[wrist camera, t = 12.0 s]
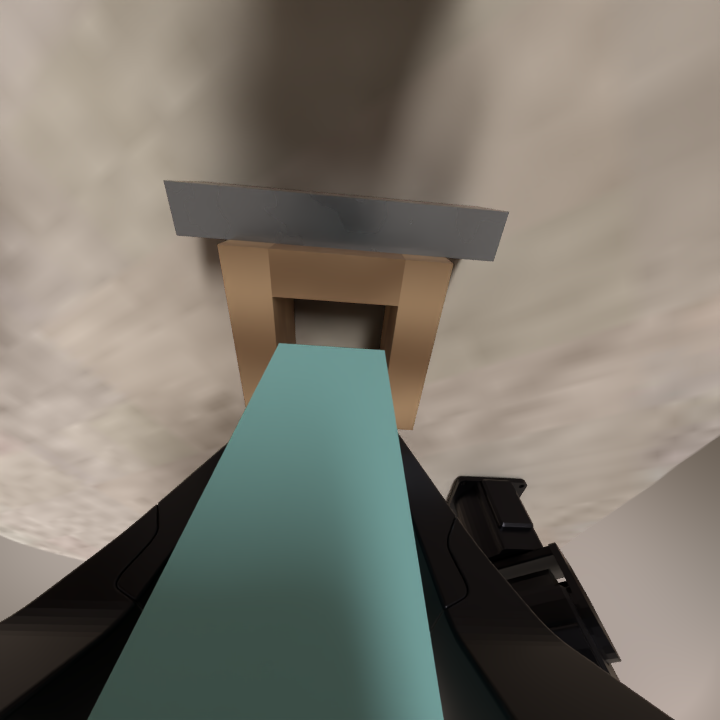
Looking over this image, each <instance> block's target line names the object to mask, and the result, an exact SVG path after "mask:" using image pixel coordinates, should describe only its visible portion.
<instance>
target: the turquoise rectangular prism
mask: <svg viewBox="0 0 720 720" xmlns="http://www.w3.org/2000/svg"><path fill="white" fill-rule="evenodd" d="M87 720H444V718H443V712H442V706H441V700H440V693H439V687H438V681H437V675H436V668H435V662H434V656H433V650H432V644H431V637H430V631H429V625H428V619H427V612H426V606H425V600H424V594H423V587H422V581H421V575H420V569H419V562H418V556H417V550H416V544H415V537H414V531H413V525H412V519H411V512H410V506H409V500H408V494H407V487H406V481H405V475H404V469H403V462H402V456H401V450H400V444H399V438H398V431H397V425H396V419H395V413H394V406H393V400H392V394H391V388H390V381H389V375H388V369H387V363H386V356H385V350H372V349H358V348H343V347H328V346H313V345H299V344H284V343H279V344H278V346H277V348H276V350H275V352H274V354H273V356H272V358H271V360H270V362H269V364H268V366H267V368H266V370H265V372H264V374H263V376H262V378H261V380H260V382H259V384H258V385H257V387H256V389H255V391H254V393H253V395H252V397H251V399H250V401H249V403H248V405H247V407H246V409H245V411H244V413H243V415H242V417H241V419H240V421H239V423H238V425H237V427H236V429H235V431H234V433H233V435H232V437H231V439H230V440H229V442H228V444H227V446H226V448H225V450H224V452H223V454H222V456H221V458H220V460H219V462H218V464H217V466H216V468H215V470H214V472H213V474H212V476H211V478H210V480H209V482H208V484H207V486H206V488H205V490H204V492H203V494H202V495H201V497H200V499H199V501H198V503H197V505H196V507H195V509H194V511H193V513H192V515H191V517H190V519H189V521H188V523H187V525H186V527H185V529H184V531H183V533H182V535H181V537H180V539H179V541H178V543H177V545H176V547H175V549H174V550H173V552H172V554H171V556H170V558H169V560H168V562H167V564H166V566H165V568H164V570H163V572H162V574H161V576H160V578H159V580H158V582H157V584H156V586H155V588H154V590H153V592H152V594H151V596H150V598H149V600H148V602H147V604H146V605H145V607H144V609H143V611H142V613H141V615H140V617H139V619H138V621H137V623H136V625H135V627H134V629H133V631H132V633H131V635H130V637H129V639H128V641H127V643H126V645H125V647H124V649H123V651H122V653H121V655H120V657H119V659H118V660H117V662H116V664H115V666H114V668H113V670H112V672H111V674H110V676H109V678H108V680H107V682H106V684H105V686H104V688H103V690H102V692H101V694H100V696H99V698H98V700H97V702H96V704H95V706H94V708H93V710H92V712H91V714H90V715H89V717H88V719H87Z"/></svg>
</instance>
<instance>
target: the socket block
mask: <svg viewBox="0 0 720 720" xmlns="http://www.w3.org/2000/svg"><path fill="white" fill-rule="evenodd" d="M217 247H218V252H219V258H220V264H221V269H222V275H223V281H224V286H225V292H226V298H227V304H228V309H229V315H230V321H231V326H232V332H233V338H234V343H235V349H236V355H237V360H238V366H239V372H240V377H241V383H242V389H243V394H244V400H245V406H246V407H247V405H248V403H249V401H250V399H251V397H252V395H253V393H254V391H255V389H256V387H257V385H258V384H259V382H260V380H261V378H262V376H263V374H264V372H265V370H266V368H267V366H268V364H269V362H270V360H271V358H272V356H273V354H274V352H275V350H276V348H277V346H278V344H279V343H284V344H296V338H295V316H294V298H296V299H310V300H323V301H337V302H350V303H364V304H378V305H385V312H384V319H383V327H382V334H381V342H380V349H379V350H385V356H386V363H387V369H388V375H389V381H390V388H391V394H392V400H393V406H394V413H395V419H396V425H397V429H404V430H413V426H414V422H415V418H416V414H417V410H418V406H419V402H420V398H421V393H422V389H423V385H424V381H425V377H426V373H427V369H428V365H429V361H430V357H431V353H432V349H433V345H434V341H435V337H436V333H437V329H438V325H439V321H440V317H441V312H442V308H443V304H444V300H445V296H446V292H447V288H448V284H449V280H450V276H451V272H452V268H453V263H452V262H451V261H449V260H448V259H447V258H446V257H433V256H421V255H409V254H397V253H385V252H373V251H361V250H349V249H336V248H324V247H312V246H300V245H288V244H276V243H264V242H252V241H239V240H227V241H224V242H222V243H220V244H217Z"/></svg>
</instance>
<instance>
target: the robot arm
mask: <svg viewBox="0 0 720 720" xmlns="http://www.w3.org/2000/svg"><path fill="white" fill-rule="evenodd" d="M398 438H399V444H400V450H401V456H402V462H403V469H404V475H405V481H406V487H407V494H408V500H409V506H410V512H411V519H412V525H413V531H414V537H415V544H416V550H417V556H418V562H419V569H420V575H421V581H422V587H423V594H424V600H425V606H426V612H427V619H428V625H429V631H430V637H431V644H432V650H433V656H434V662H435V668H436V675H437V681H438V687H439V693H440V700H441V706H442V712H443V718H444V720H674V719H673V718H671V717H669V716H668V715H667V714H665V713H664V712H663V711H661V710H660V709H658V708H657V707H655V706H654V705H652V704H651V703H650V702H648V701H647V700H645V699H644V698H643V697H641V696H640V695H638V694H637V693H635V692H634V691H632V690H631V689H630V688H628V687H627V686H626V685H624V684H623V683H621V682H620V680H619V678H618V677H617V675H616V673H615V671H614V669H613V667H612V665H611V663H614V662H621V659H620V657H619V655H618V653H617V651H616V649H615V647H614V646H613V644H612V642H611V640H610V638H609V636H608V634H607V632H606V630H605V628H604V627H603V624H602V622H601V621H600V619H599V617H598V615H597V613H596V611H595V609H594V607H593V606H592V603H591V601H590V599H589V598H588V596H587V594H586V592H585V591H584V589H583V587H582V585H581V583H580V582H579V580H578V578H577V577H576V575H575V573H574V571H573V569H572V568H571V566H570V565H569V563H568V561H567V560H566V558H565V557H564V555H563V554H562V552H561V551H560V549H559V548H558V546H557V544H556V543H551V544H548V545H549V546H546V547H543V545H542V543H541V542H540V540H539V538H538V536H537V534H536V532H535V530H534V528H533V523H532V521H531V519H530V517H529V515H528V513H527V511H526V509H525V508H524V506H523V504H522V502H521V500H520V496H521V495H522V493H523V491H524V490H525V488H526V487H527V484H526V482H525V480H523V479H506V478H484V477H460V478H458V480H457V482H456V485H455V487H454V489H453V492H452V494H451V497H450V499H449V501H448V503H447V502H446V501H445V499H444V498H443V496H442V495H441V494H440V492H439V491H438V489H437V488H436V486H435V485H434V484H433V482H432V481H431V479H430V478H429V476H428V475H427V474H426V472H425V471H424V469H423V468H422V467H421V465H420V464H419V462H418V461H417V459H416V458H415V457H414V455H413V454H412V452H411V451H410V449H409V448H408V447H407V445H406V444H405V442H404V441H403V439H402V438H401V437H400V435H399V434H398ZM227 444H228V443H227ZM227 444H226V445H225V446H223V447H222V448H221V449H220V450H219V451H218V452H216V453H215V454H214V455H213V456H212V457H211V458H209V459H208V460H207V461H206V462H205V463H204V464H203V465H201V466H200V467H199V468H198V469H197V470H196V471H194V472H193V473H192V474H191V475H190V476H189V477H188V478H186V479H185V480H184V481H183V482H182V483H181V484H179V485H178V486H177V487H176V488H175V489H174V490H172V491H171V492H170V493H169V494H168V495H167V496H166V497H164V498H163V499H162V500H161V501H160V502H159V503H158V505H155V506H154V507H153V508H152V509H150V510H149V511H148V512H147V513H146V514H145V515H143V516H142V517H141V518H140V519H139V520H137V521H136V522H135V523H134V524H133V525H131V526H130V527H129V528H128V529H127V530H125V531H124V532H123V533H122V534H120V535H119V536H118V537H117V538H115V539H114V540H113V541H111V542H110V543H109V544H108V545H106V546H105V547H104V548H102V549H101V550H100V551H99V552H97V553H96V554H95V555H93V556H92V557H91V558H89V559H88V560H87V561H85V562H84V563H83V564H81V565H80V566H79V567H77V568H76V569H75V570H73V571H72V572H71V573H69V574H68V575H67V576H65V577H64V578H63V579H61V580H60V581H59V582H57V583H56V584H55V585H54V586H52V587H51V588H49V589H48V590H47V591H45V592H44V593H43V594H41V595H40V596H39V597H37V598H36V599H35V600H34V601H32V602H31V603H29V604H28V605H26V606H25V607H23V608H22V609H21V610H19V611H17V612H16V613H14V614H13V615H11V616H10V617H8V618H6V619H4V620H3V621H1V622H0V720H87V719H88V717H89V715H90V714H91V712H92V710H93V708H94V706H95V704H96V702H97V700H98V698H99V696H100V694H101V692H102V690H103V688H104V686H105V684H106V682H107V680H108V678H109V676H110V674H111V672H112V670H113V668H114V666H115V664H116V662H117V660H118V659H119V657H120V655H121V653H122V651H123V649H124V647H125V645H126V643H127V641H128V639H129V637H130V635H131V633H132V631H133V629H134V627H135V625H136V623H137V621H138V619H139V617H140V615H141V613H142V611H143V609H144V607H145V605H146V604H147V602H148V600H149V598H150V596H151V594H152V592H153V590H154V588H155V586H156V584H157V582H158V580H159V578H160V576H161V574H162V572H163V570H164V568H165V566H166V564H167V562H168V560H169V558H170V556H171V554H172V552H173V550H174V549H175V547H176V545H177V543H178V541H179V539H180V537H181V535H182V533H183V531H184V529H185V527H186V525H187V523H188V521H189V519H190V517H191V515H192V513H193V511H194V509H195V507H196V505H197V503H198V501H199V499H200V497H201V495H202V494H203V492H204V490H205V488H206V486H207V484H208V482H209V480H210V478H211V476H212V474H213V472H214V470H215V468H216V466H217V464H218V462H219V460H220V458H221V456H222V454H223V452H224V450H225V448H226V446H227ZM563 577H565V579H566V581H564V582H560V583H558V581H557V580H556V579H560V578H563Z"/></svg>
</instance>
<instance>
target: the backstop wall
mask: <svg viewBox="0 0 720 720" xmlns="http://www.w3.org/2000/svg"><path fill="white" fill-rule="evenodd" d="M164 185H165V189H166V193H167V197H168V201H169V205H170V209H171V213H172V218H173V222H174V226H175V230H176V234H177V235H179V236H191V237H203V238H215V239H227V240H239V241H252V242H264V243H276V244H288V245H300V246H312V247H324V248H336V249H349V250H361V251H373V252H385V253H397V254H409V255H421V256H433V257H446V258H458V259H470V260H482V261H494V258H495V255H496V251H497V248H498V245H499V242H500V239H501V236H502V233H503V229H504V226H505V223H506V220H507V217H508V214H509V212H506V211H500V210H494V209H489V208H483V207H475V206H464V205H454V204H443V203H432V202H421V201H410V200H399V199H388V198H377V197H366V196H355V195H345V194H334V193H323V192H312V191H301V190H290V189H279V188H268V187H257V186H247V185H236V184H225V183H214V182H199V181H166V180H164Z"/></svg>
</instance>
